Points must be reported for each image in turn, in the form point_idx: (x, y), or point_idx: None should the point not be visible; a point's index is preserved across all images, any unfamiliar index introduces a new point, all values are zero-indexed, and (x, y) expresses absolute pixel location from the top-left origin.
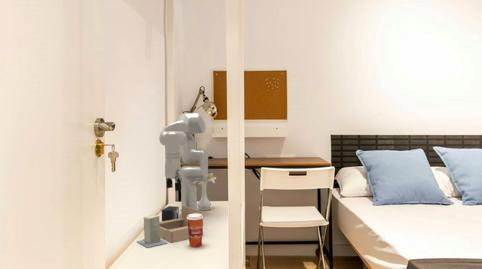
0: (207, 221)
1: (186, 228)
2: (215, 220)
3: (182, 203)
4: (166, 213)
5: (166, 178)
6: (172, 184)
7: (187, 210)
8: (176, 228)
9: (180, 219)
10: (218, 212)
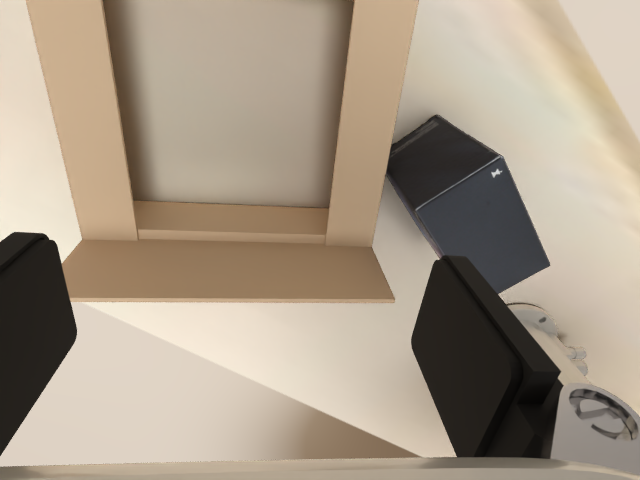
0: (353, 355)
1: (51, 106)
2: (338, 384)
3: (564, 374)
4: (446, 170)
5: (631, 441)
6: (427, 385)
7: (295, 283)
8: (99, 44)
9: (340, 218)
10: (440, 444)
